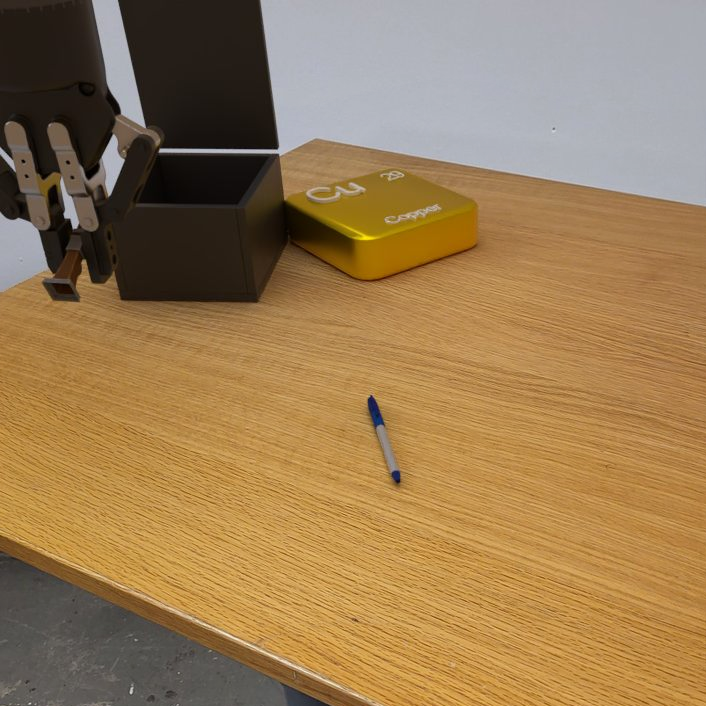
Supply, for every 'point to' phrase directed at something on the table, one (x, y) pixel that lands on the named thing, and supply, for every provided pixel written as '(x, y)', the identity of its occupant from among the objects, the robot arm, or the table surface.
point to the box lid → (202, 72)
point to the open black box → (203, 229)
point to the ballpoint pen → (383, 438)
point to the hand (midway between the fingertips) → (86, 277)
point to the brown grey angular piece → (67, 272)
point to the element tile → (381, 223)
